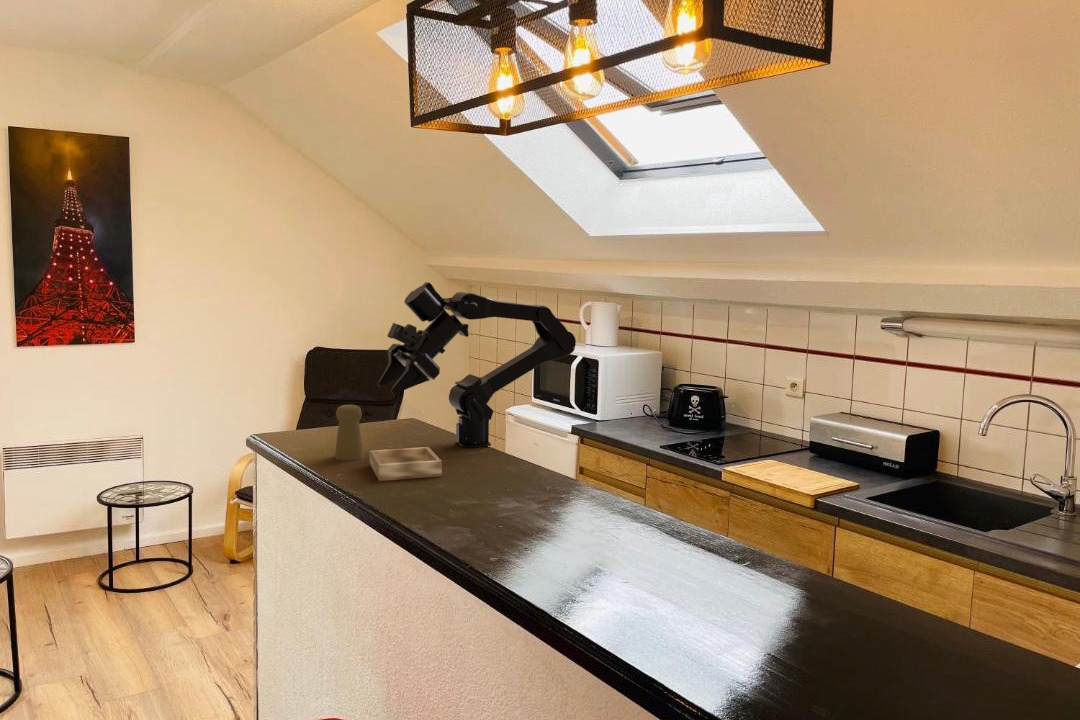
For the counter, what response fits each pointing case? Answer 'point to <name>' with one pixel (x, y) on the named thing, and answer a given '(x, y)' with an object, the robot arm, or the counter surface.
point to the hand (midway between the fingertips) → (385, 389)
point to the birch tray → (405, 463)
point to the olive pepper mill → (349, 433)
